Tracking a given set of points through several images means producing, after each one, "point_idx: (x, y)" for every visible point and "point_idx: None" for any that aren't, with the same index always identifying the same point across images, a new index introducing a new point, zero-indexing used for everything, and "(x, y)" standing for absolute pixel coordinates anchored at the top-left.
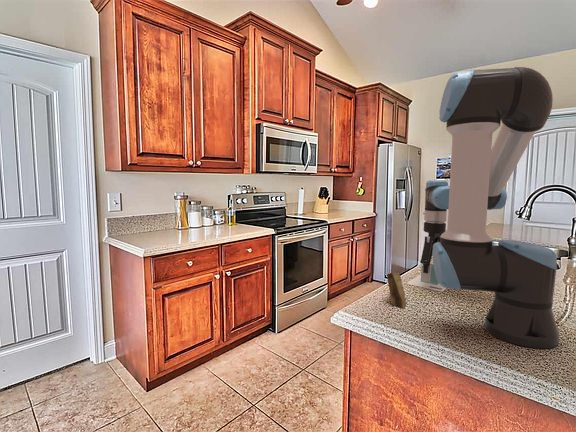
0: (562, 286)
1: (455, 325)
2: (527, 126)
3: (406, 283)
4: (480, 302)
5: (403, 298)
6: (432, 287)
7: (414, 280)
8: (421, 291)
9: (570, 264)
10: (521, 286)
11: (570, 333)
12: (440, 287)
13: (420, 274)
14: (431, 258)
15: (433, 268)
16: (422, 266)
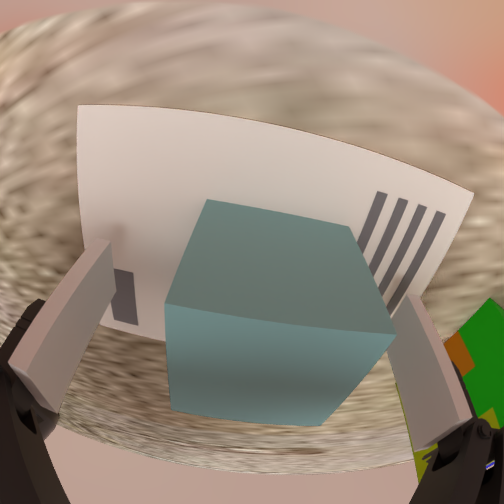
0: (363, 467)
1: None
2: None
3: (81, 109)
4: (100, 395)
5: None
6: (116, 283)
7: (210, 143)
8: (25, 234)
9: None
10: None
11: (82, 435)
12: (154, 318)
13: (440, 181)
14: (54, 469)
15: (170, 388)
16: (165, 311)
